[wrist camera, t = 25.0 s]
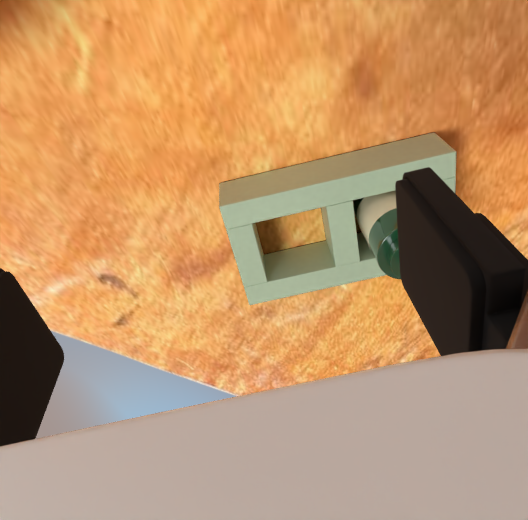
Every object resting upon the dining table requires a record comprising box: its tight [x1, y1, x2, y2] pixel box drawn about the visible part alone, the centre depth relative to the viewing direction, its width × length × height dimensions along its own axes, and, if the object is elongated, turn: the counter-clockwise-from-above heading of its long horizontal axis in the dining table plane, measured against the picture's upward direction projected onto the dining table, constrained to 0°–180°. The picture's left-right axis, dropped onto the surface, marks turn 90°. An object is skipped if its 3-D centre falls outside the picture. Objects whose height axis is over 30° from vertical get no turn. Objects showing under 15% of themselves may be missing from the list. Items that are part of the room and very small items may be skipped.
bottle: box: [353, 191, 401, 279], centre depth 37 cm, size 5×5×13 cm
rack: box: [219, 132, 456, 305], centre depth 41 cm, size 11×19×4 cm, turn 102°
